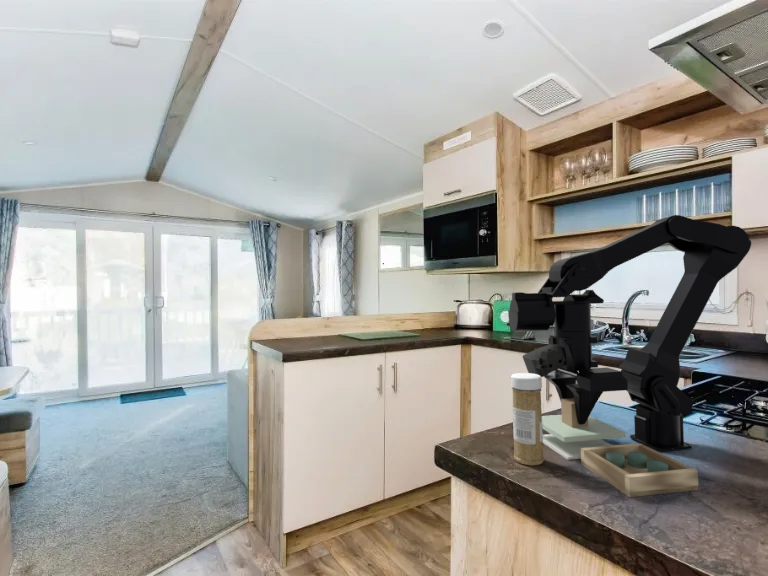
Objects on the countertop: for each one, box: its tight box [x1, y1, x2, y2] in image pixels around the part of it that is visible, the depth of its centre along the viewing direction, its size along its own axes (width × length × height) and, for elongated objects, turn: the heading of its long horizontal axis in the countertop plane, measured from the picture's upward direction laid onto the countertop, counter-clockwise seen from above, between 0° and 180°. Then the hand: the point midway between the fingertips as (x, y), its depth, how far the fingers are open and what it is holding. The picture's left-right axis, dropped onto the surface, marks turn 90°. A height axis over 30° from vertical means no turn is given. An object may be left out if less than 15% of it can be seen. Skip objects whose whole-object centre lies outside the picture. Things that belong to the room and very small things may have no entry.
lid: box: [542, 398, 626, 442], centre depth 70 cm, size 11×11×5 cm
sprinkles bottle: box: [510, 372, 545, 466], centre depth 64 cm, size 5×5×13 cm
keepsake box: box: [580, 442, 699, 498], centre depth 58 cm, size 10×10×2 cm
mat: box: [543, 433, 613, 461], centre depth 69 cm, size 10×10×1 cm
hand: (575, 421), depth 70 cm, fingers closed on lid, 3 cm apart
